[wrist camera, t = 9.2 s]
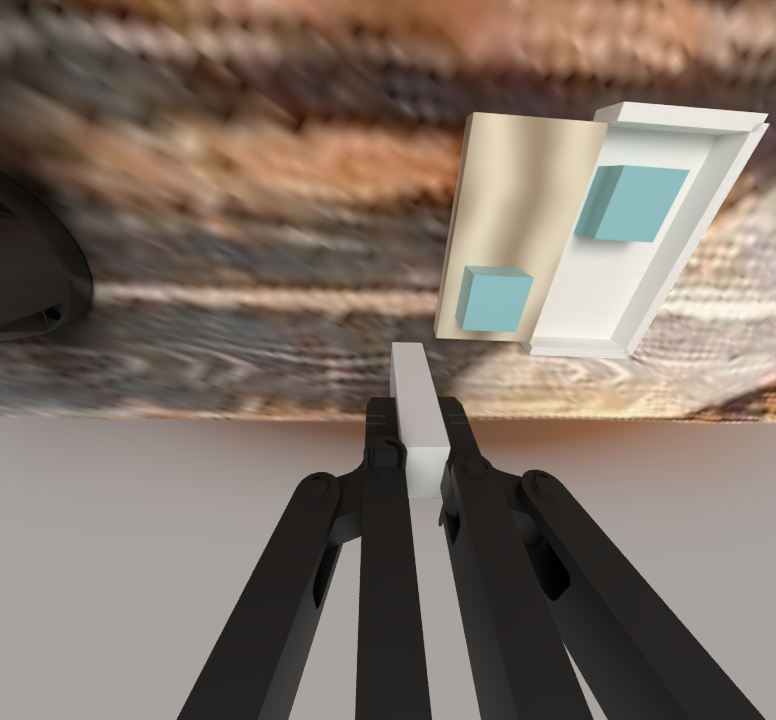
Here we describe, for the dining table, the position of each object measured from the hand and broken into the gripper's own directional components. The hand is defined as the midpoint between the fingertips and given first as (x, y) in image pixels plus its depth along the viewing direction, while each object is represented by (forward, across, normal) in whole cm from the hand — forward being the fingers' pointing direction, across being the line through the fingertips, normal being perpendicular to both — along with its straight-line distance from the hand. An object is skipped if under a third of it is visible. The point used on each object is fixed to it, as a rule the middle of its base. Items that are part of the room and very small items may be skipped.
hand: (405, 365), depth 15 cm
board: (+16, +10, +3) cm, 19 cm away
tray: (+16, +20, +3) cm, 26 cm away
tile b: (+14, +9, -1) cm, 17 cm away
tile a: (+15, +19, +7) cm, 25 cm away
